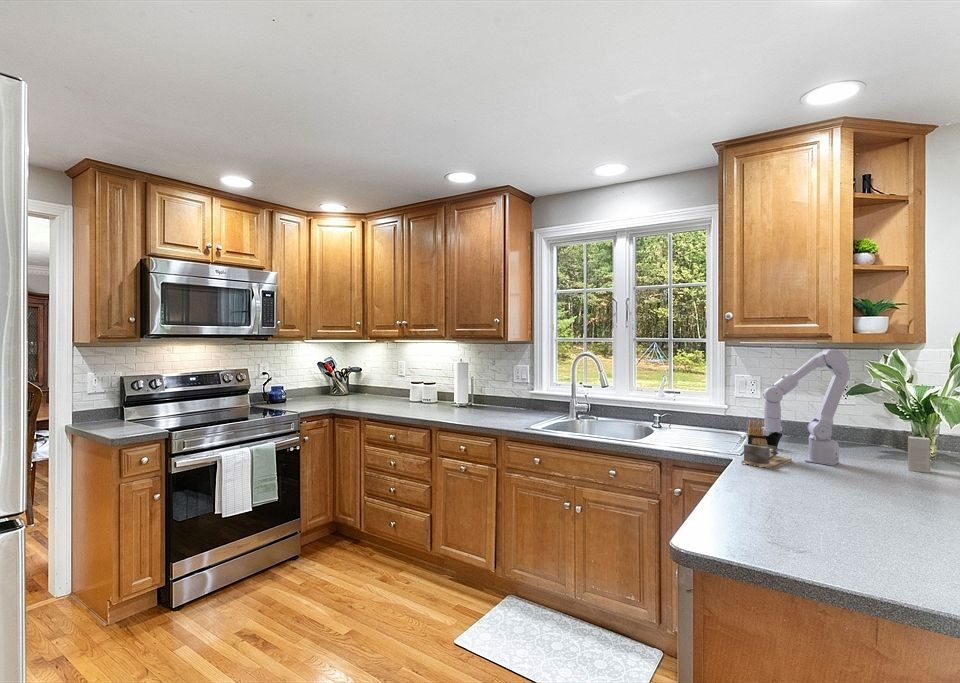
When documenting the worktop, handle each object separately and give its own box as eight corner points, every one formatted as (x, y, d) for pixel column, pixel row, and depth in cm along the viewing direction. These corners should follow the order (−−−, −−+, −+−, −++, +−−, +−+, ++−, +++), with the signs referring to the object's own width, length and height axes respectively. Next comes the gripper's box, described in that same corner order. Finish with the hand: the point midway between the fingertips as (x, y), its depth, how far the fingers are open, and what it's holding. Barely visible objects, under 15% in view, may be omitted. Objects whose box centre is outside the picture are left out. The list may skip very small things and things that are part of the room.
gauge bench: (791, 461, 202) (791, 442, 202) (772, 469, 190) (772, 449, 190) (761, 456, 210) (761, 438, 210) (741, 463, 198) (741, 445, 198)
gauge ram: (780, 456, 200) (780, 447, 200) (773, 459, 195) (773, 449, 195) (760, 452, 206) (760, 444, 206) (752, 455, 201) (752, 446, 201)
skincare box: (930, 471, 186) (930, 437, 186) (929, 473, 183) (929, 439, 183) (908, 468, 190) (908, 435, 190) (907, 470, 187) (907, 437, 187)
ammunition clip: (747, 446, 231) (747, 419, 231) (748, 445, 232) (748, 418, 232) (775, 449, 225) (775, 421, 224) (775, 448, 226) (775, 420, 226)
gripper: (769, 414, 214) (769, 447, 214) (754, 418, 205) (754, 452, 205) (787, 416, 209) (788, 450, 209) (773, 420, 199) (773, 455, 199)
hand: (772, 451), depth 206 cm, fingers closed
